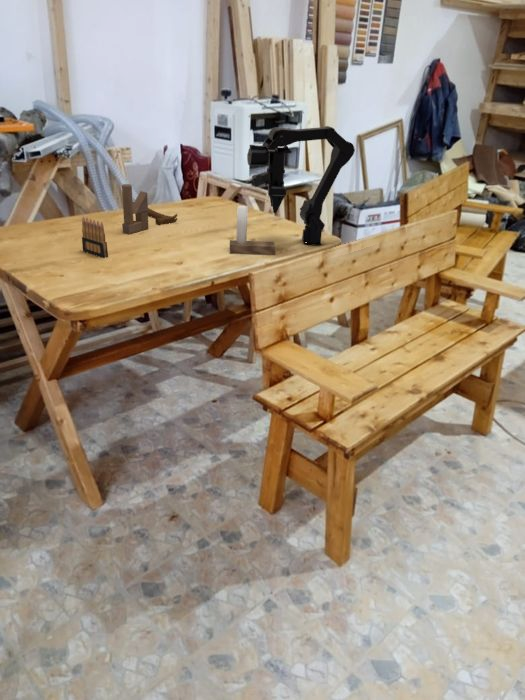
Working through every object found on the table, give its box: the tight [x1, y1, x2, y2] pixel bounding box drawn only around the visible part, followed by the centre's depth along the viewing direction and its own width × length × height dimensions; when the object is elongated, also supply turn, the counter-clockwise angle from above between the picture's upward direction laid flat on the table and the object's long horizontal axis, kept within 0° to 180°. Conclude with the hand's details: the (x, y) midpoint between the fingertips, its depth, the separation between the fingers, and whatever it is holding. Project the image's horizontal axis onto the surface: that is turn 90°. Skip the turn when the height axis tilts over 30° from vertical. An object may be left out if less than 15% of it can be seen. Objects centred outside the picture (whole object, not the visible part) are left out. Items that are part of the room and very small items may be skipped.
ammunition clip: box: [81, 216, 109, 259], centre depth 188 cm, size 11×2×12 cm, turn 56°
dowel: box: [235, 205, 249, 245], centre depth 198 cm, size 4×4×13 cm
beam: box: [229, 239, 276, 256], centre depth 202 cm, size 16×6×3 cm, turn 94°
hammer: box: [133, 201, 178, 226], centre depth 239 cm, size 12×3×30 cm
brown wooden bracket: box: [121, 183, 149, 235], centre depth 213 cm, size 4×11×18 cm, turn 147°
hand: (273, 209), depth 207 cm, fingers open, 9 cm apart
